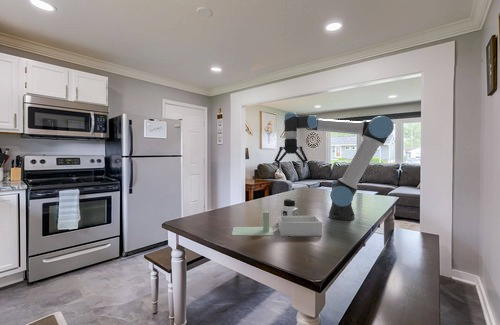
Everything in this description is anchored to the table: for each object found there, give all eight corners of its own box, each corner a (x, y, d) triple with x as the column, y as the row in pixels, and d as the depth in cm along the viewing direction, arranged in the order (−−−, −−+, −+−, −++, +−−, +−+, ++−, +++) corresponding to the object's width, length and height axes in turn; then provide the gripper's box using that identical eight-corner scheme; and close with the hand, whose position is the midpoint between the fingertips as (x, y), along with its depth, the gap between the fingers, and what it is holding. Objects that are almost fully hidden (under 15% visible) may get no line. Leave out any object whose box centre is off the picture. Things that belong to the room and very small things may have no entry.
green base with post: (271, 228, 134) (271, 208, 134) (273, 236, 121) (273, 214, 121) (233, 228, 134) (233, 209, 134) (231, 236, 121) (231, 215, 121)
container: (292, 223, 141) (292, 201, 140) (280, 221, 146) (280, 199, 145) (298, 220, 147) (298, 199, 147) (286, 218, 152) (286, 198, 151)
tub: (315, 228, 131) (315, 215, 131) (322, 236, 119) (322, 222, 119) (278, 228, 132) (278, 216, 131) (281, 236, 120) (281, 222, 119)
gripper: (309, 138, 154) (309, 172, 154) (270, 139, 154) (270, 172, 154) (312, 137, 146) (312, 173, 147) (271, 138, 146) (271, 173, 147)
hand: (291, 173), depth 151 cm, fingers open, 13 cm apart
